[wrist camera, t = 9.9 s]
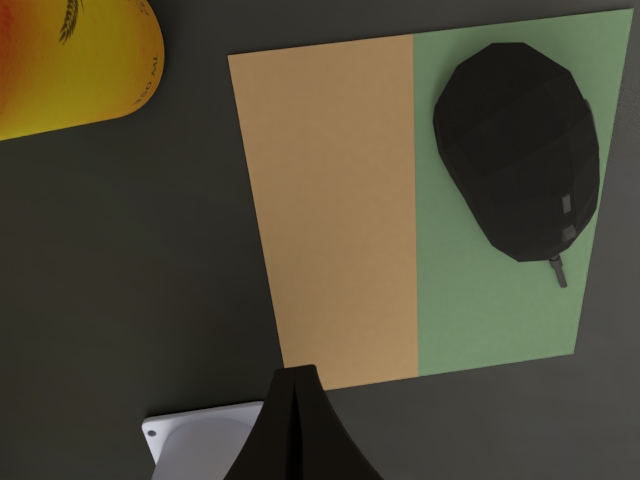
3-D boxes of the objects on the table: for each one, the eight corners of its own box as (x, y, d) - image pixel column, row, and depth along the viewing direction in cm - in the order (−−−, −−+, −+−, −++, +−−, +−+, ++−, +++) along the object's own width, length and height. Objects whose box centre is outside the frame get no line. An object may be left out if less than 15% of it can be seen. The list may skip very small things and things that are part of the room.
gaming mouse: (514, 310, 24) (556, 351, 20) (406, 94, 19) (436, 96, 15) (610, 257, 23) (673, 290, 19) (526, 15, 18) (589, -3, 14)
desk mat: (571, 352, 26) (573, 353, 26) (289, 393, 25) (289, 395, 25) (631, 8, 18) (633, 8, 18) (227, 55, 17) (227, 55, 17)
